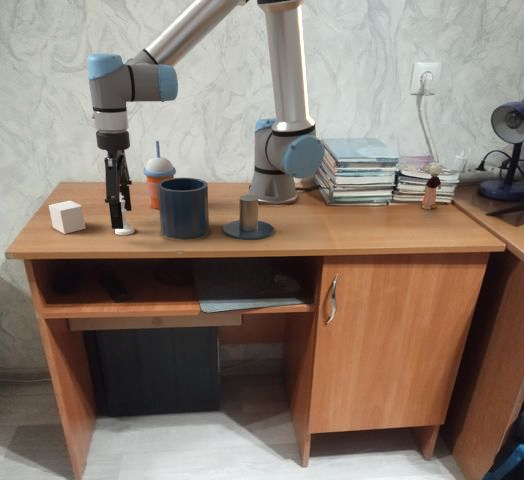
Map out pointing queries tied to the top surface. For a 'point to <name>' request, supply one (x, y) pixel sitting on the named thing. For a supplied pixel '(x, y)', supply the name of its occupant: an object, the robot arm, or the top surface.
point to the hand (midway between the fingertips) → (122, 219)
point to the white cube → (67, 216)
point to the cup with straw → (157, 175)
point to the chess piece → (124, 221)
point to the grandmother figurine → (432, 187)
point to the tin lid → (248, 221)
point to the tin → (183, 208)
